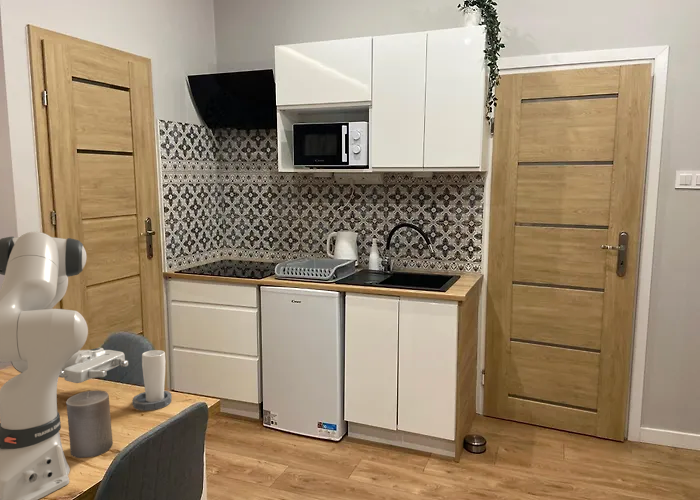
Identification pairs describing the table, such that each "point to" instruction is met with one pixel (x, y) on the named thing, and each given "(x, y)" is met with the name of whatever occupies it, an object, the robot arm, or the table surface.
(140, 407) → the coaster
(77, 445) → the pillar candle
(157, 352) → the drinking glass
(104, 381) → the table surface
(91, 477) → the table surface
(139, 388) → the table surface
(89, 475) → the table surface
